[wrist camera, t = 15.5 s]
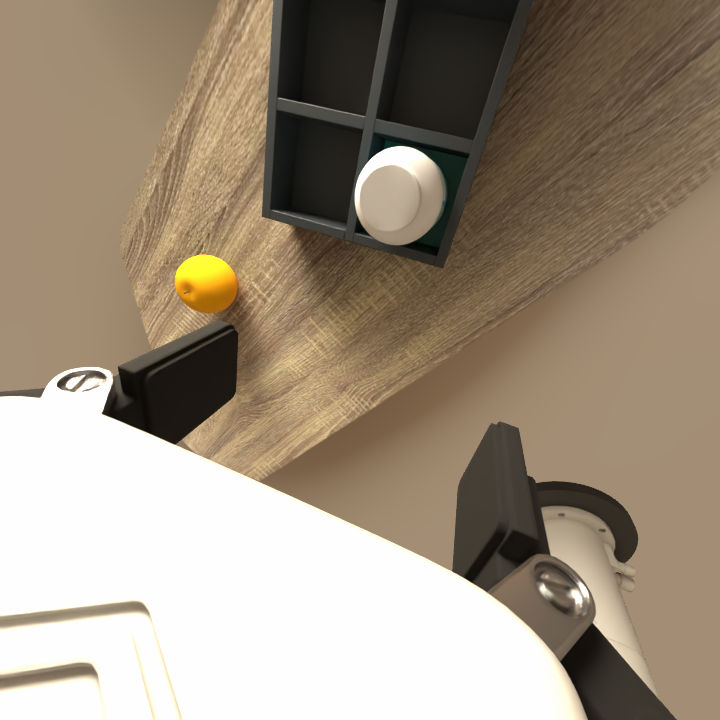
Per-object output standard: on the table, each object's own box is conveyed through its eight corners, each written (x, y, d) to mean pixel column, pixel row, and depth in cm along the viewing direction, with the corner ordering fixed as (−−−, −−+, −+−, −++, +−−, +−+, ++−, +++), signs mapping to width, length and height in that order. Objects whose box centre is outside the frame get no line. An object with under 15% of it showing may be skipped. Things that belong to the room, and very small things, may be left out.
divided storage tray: (529, 15, 28) (541, -23, 23) (447, 258, 39) (443, 268, 34) (307, -19, 32) (275, -59, 27) (287, 213, 42) (261, 216, 37)
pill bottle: (394, 243, 39) (361, 265, 27) (371, 177, 36) (324, 171, 25) (458, 217, 36) (451, 229, 24) (438, 143, 33) (419, 118, 22)
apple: (255, 293, 49) (223, 309, 43) (220, 312, 52) (185, 328, 46) (226, 242, 47) (186, 250, 40) (191, 264, 50) (149, 275, 44)
